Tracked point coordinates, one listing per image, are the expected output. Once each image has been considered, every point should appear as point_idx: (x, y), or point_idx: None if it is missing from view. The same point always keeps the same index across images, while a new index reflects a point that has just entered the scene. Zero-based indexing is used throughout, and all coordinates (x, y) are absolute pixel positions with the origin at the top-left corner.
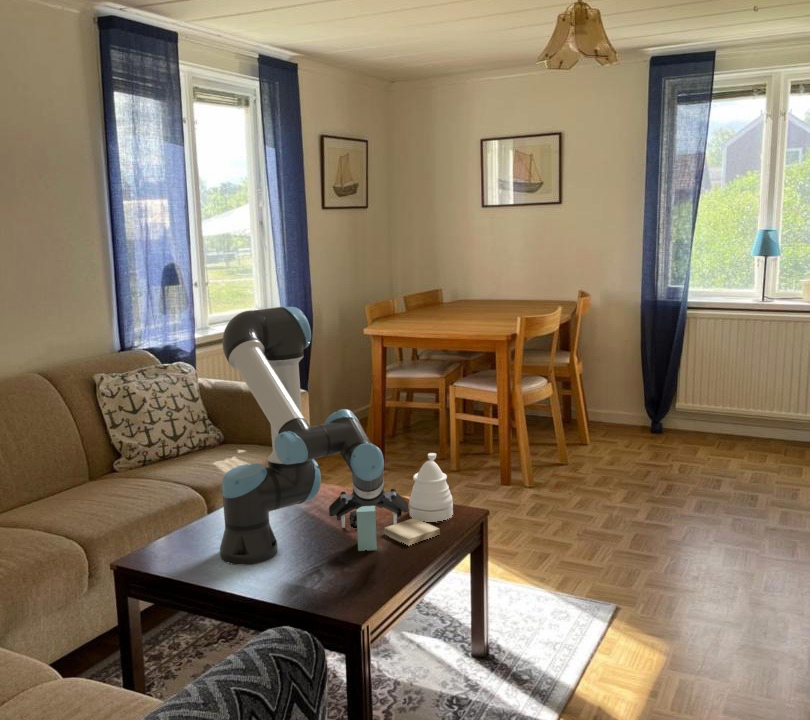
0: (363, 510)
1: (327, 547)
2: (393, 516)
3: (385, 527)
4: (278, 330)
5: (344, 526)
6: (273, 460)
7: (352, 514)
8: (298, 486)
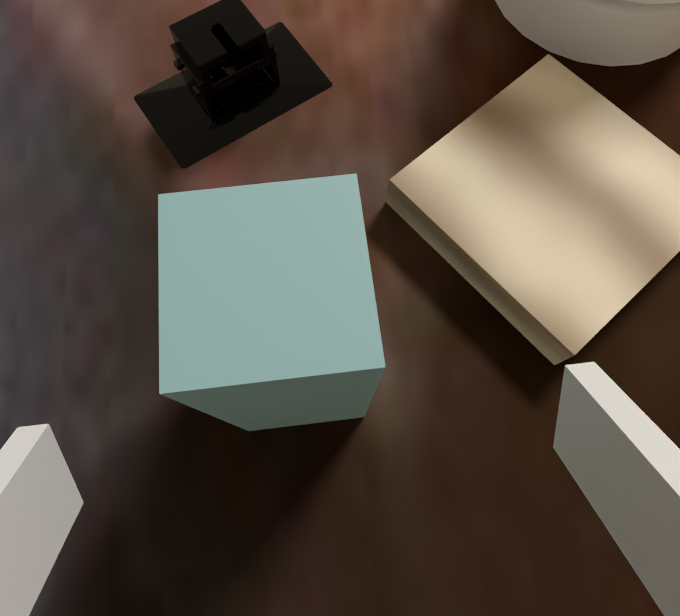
0: (241, 347)
1: (58, 374)
2: (599, 453)
3: (397, 177)
4: None
5: (69, 524)
6: None
7: (185, 50)
8: None
